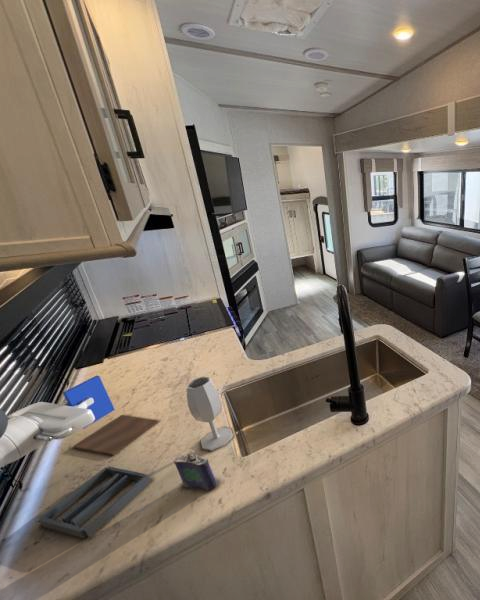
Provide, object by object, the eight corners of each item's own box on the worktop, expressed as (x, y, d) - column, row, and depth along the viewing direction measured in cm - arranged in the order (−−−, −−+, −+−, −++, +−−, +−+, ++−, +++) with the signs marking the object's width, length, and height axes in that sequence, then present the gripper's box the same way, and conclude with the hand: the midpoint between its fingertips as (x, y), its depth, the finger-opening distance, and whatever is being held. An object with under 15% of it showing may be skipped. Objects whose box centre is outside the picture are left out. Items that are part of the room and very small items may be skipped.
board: (74, 448, 94) (73, 446, 94) (122, 417, 107) (121, 414, 107) (113, 456, 91) (112, 453, 90) (158, 422, 103) (157, 420, 103)
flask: (181, 487, 79) (168, 456, 76) (191, 477, 82) (178, 446, 78) (212, 492, 77) (200, 460, 74) (221, 482, 80) (210, 450, 76)
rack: (41, 526, 72) (36, 519, 71) (110, 472, 85) (107, 465, 84) (87, 540, 68) (82, 532, 67) (151, 481, 82) (148, 474, 81)
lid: (80, 428, 85) (62, 392, 81) (112, 409, 93) (96, 375, 89) (83, 429, 85) (65, 393, 81) (115, 409, 92) (99, 375, 88)
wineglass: (238, 436, 95) (221, 379, 88) (209, 456, 88) (188, 395, 81) (224, 425, 100) (206, 370, 93) (195, 443, 93) (174, 385, 86)
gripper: (45, 431, 70) (111, 393, 83) (-12, 420, 75) (58, 386, 88) (57, 452, 72) (120, 412, 85) (1, 440, 77) (67, 404, 90)
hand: (88, 399), depth 86 cm, fingers closed on lid, 1 cm apart
